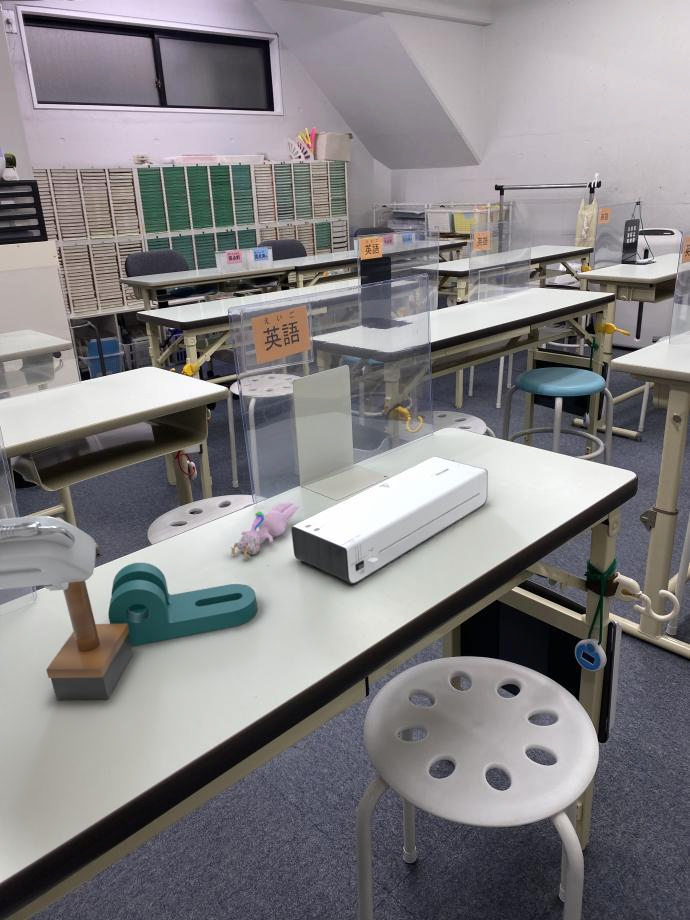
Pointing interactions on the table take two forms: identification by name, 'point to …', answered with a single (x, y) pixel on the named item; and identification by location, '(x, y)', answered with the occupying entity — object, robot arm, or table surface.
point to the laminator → (390, 518)
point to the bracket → (174, 606)
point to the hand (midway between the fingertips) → (10, 586)
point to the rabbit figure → (265, 528)
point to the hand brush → (89, 652)
